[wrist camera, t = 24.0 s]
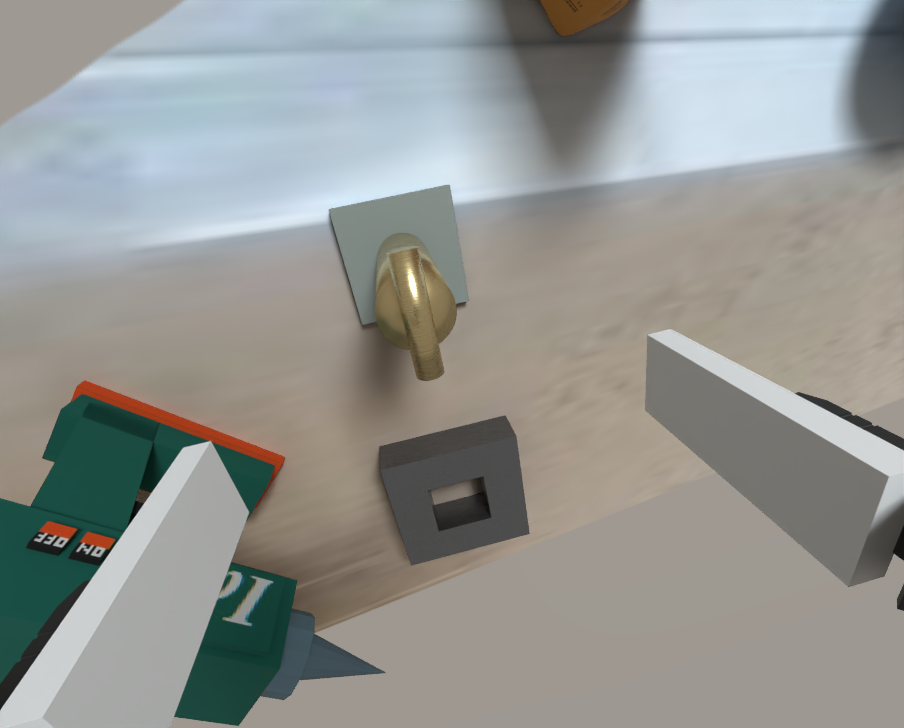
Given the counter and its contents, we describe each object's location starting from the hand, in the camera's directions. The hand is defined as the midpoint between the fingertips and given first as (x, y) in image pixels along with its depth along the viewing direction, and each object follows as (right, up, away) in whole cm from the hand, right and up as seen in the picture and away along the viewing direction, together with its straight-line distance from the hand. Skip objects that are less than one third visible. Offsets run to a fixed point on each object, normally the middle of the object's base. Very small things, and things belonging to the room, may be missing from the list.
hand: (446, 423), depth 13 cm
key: (-4, +11, +23) cm, 26 cm away
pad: (-4, +11, +24) cm, 27 cm away
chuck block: (0, -12, +36) cm, 37 cm away
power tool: (-21, -9, +31) cm, 38 cm away
